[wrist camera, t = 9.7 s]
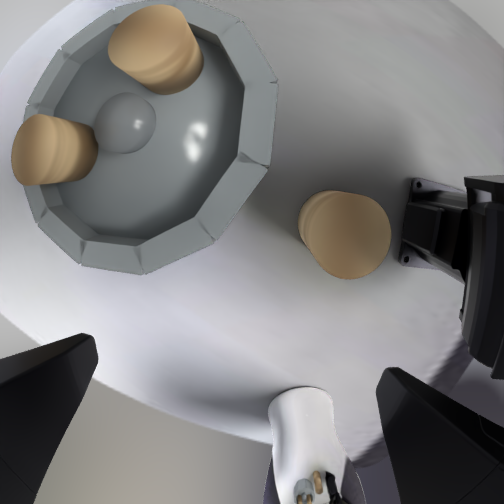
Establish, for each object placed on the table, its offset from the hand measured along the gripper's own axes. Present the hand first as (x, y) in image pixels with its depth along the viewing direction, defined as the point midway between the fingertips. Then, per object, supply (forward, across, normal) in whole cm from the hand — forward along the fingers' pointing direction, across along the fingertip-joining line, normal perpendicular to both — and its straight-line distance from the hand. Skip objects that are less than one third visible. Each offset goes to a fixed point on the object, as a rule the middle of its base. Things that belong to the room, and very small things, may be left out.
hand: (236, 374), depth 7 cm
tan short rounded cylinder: (+11, +14, -7) cm, 19 cm away
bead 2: (+11, +6, -13) cm, 18 cm away
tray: (+12, +9, -8) cm, 17 cm away
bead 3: (+12, -5, -3) cm, 13 cm away
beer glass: (+12, -6, +14) cm, 20 cm away
